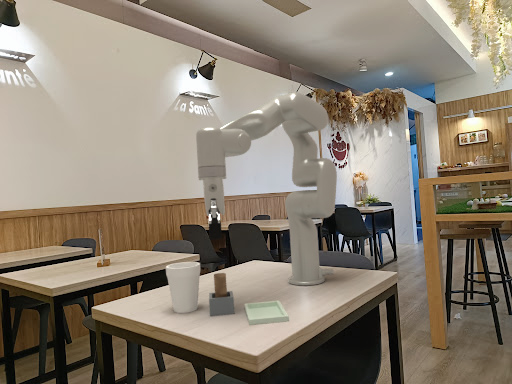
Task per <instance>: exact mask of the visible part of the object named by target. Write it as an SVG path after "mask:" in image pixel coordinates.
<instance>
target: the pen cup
mask: <svg viewBox="0 0 512 384" xmlns="http://www.w3.org/2000/svg"><path fill="white" fill-rule="evenodd" d="M208 304H209V305H208V307H209V316H210V317H217V316H229V315H235V299H234V293H233V290H229V291H228V290H227V297H220V298H215V292H209V293H208Z"/></svg>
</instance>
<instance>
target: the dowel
mask: <svg viewBox="0 0 512 384" xmlns="http://www.w3.org/2000/svg"><path fill="white" fill-rule="evenodd" d="M213 280H214V281H213V283H214V284H213V285H214V293H215V298H220V297H227V291H228V290H227V288H228V287H227V274H226V273H225V272H218V273H214V274H213Z"/></svg>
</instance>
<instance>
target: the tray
mask: <svg viewBox="0 0 512 384" xmlns="http://www.w3.org/2000/svg"><path fill="white" fill-rule="evenodd" d="M244 310H245V315H246V317H247V321H248V325H249V326H255V325H264V324H265V325H266V324H274V323H284V322H285V323H286V322H290V315H289V314H288V313H287V311H286V309H285V308H284V305H282V303H281V301H280V300H272V301H261V302H251V303H244Z"/></svg>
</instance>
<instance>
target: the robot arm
mask: <svg viewBox="0 0 512 384" xmlns="http://www.w3.org/2000/svg"><path fill="white" fill-rule="evenodd" d="M328 123H329V114H328V112H327V110H326V108H325V107H324V106H323V105H321V104H320V103H319V102H317V101H315V100H314V99H312V98H311V97H309V96H307V95H306V94H304V93H301V92H298V91H294V92H290V93H285V94H283V95H278V96H276V97H273V98H271V99H269V100H268V101H266V102H264V103H263V104H261V105H260V106H258V107H256V108H255V109H254V110H252V111H250V112H248V113H246V114H244V115H242V116H240V117H239V118H237V119H235V120H233V121H231V122H229V123H227V124H225V125H223V126H221V127H202V128H200V129H198V130H197V131H196V133H195V135H196V136H195V139H196V157H197V176H198V181H202V182H203V183H202V184H203V185H202V186H203V196H204V197H203V198H204V206H205V207H204V208H205V211H206V213H205V214H206V216H208V236H209V237H208V239H209V240H211V241H212V240H221V239H222V238H223V235H222V234H223V233H222V221H221V217H220V216H221V214H222V216H225V214H226V208H225V206H226V205H225V191H224V189H225V188H224V182H223V181H224V180H225V179H227V167H226V158H229V157H237V156H242V155H245V154H246V153H247V152H248V151H250V149H251V147H252V141H254V140H258V139H261V138H263V137H266V136H268V135H269V134H270V133H272V132H273V131H274V130H276V128H278V127H279V126H280V125H282V128H283V130H284V131H285V134H286V135H287V137H288V138H289V140H290V141H291V143H292V146H293V157H292V168H291V169H292V172H291V179H292V184H293V185H295V186H296V187H299V188H314V187H315V188H316V189H306V190H304V189H303V190H296V191H292V192H291V193H289V194H288V195H287V197H285V202H284V208H285V211H286V215H287V219H288V226H289V239H290V240H289V243H290V244H289V245H290V256H291V257H290V259H291V274H292V275H291V276H290V277H288V283H289V284H291V285H295V286H313V285H319V284H322V283H324V282H325V281H326V280H325V279H326V278H325V276H326V275H327V276H330V275H335V274H334V269H333V268H322V267H321V266H320V255H319V253H320V251H319V238H318V229H317V225H316V224H315V222H314V221H313V219H327V218H329V217H331V216H332V215H333V213H334V211H335V207H336V196H337V195H336V193H337V184H338V183H337V181H338V179H337V178H338V175H337V174H338V173H337V168H336V167H337V166H336V165H335V163H334V162H333V161H332V159H329V158H326V157H324V158H323V157H321V158H318V145H317V143H316V141H315V140H314V138H313V137H312V135H310V133H312V132H319V131H322V130H324V129H325V128H326V127H327V126H328Z"/></svg>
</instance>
